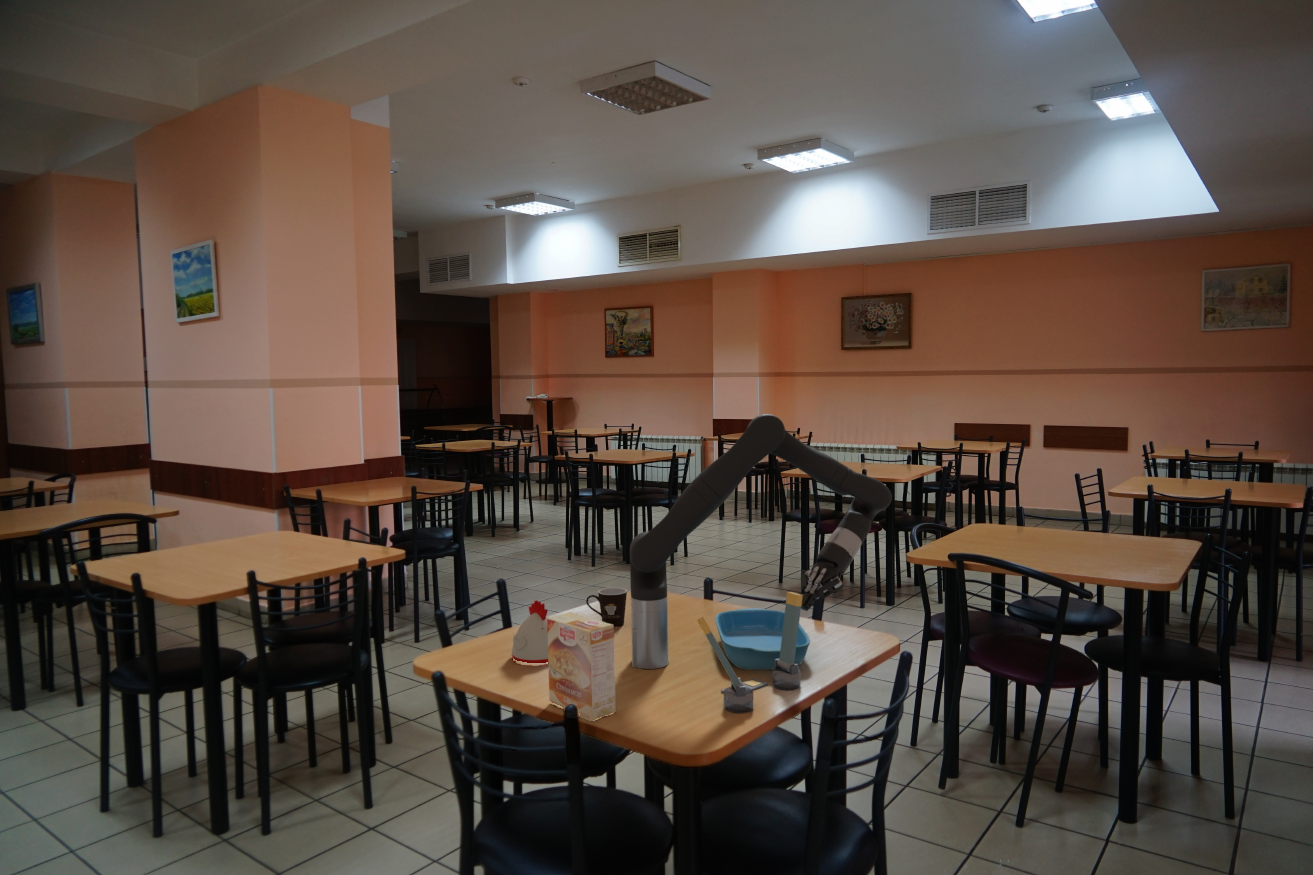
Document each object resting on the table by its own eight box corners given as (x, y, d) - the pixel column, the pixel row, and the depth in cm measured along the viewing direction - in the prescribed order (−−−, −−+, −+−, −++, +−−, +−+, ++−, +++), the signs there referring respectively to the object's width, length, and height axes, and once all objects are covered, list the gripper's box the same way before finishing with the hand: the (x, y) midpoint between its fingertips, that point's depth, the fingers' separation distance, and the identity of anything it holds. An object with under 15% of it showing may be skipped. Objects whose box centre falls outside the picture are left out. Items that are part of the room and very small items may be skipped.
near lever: (742, 683, 174) (703, 615, 173) (746, 690, 170) (706, 620, 169) (734, 688, 174) (695, 620, 172) (738, 695, 170) (698, 625, 168)
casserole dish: (819, 675, 191) (818, 646, 191) (726, 678, 191) (726, 649, 190) (788, 630, 228) (788, 606, 228) (711, 633, 227) (710, 608, 227)
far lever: (783, 666, 187) (792, 591, 187) (794, 671, 183) (803, 595, 184) (776, 666, 186) (785, 591, 186) (788, 671, 182) (797, 595, 183)
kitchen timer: (529, 670, 199) (527, 611, 198) (502, 656, 209) (500, 600, 209) (575, 657, 208) (574, 601, 207) (547, 645, 218) (546, 591, 218)
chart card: (734, 697, 178) (734, 694, 178) (720, 691, 181) (720, 689, 181) (767, 684, 185) (767, 682, 185) (753, 679, 189) (753, 677, 189)
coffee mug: (633, 622, 239) (632, 589, 238) (616, 629, 232) (616, 596, 231) (601, 617, 245) (601, 585, 245) (584, 624, 238) (584, 591, 237)
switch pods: (740, 715, 168) (740, 689, 167) (717, 707, 172) (717, 682, 172) (806, 684, 185) (805, 661, 184) (783, 678, 189) (783, 655, 189)
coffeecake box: (548, 704, 176) (545, 617, 175) (573, 695, 181) (571, 611, 180) (591, 723, 165) (589, 630, 164) (617, 713, 170) (614, 623, 169)
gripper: (812, 537, 197) (775, 593, 191) (852, 545, 186) (814, 604, 180) (828, 555, 200) (791, 611, 194) (868, 564, 189) (831, 624, 183)
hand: (802, 608), depth 187 cm, fingers closed
